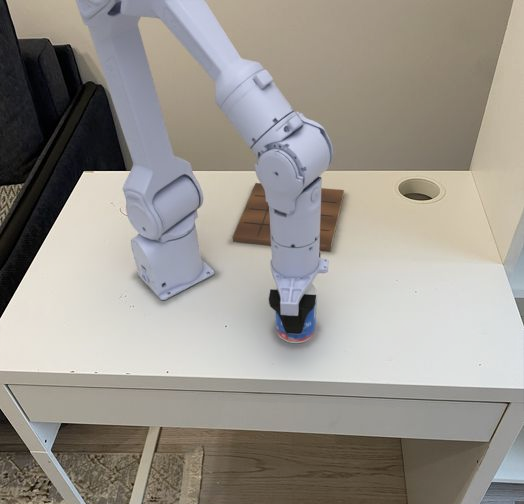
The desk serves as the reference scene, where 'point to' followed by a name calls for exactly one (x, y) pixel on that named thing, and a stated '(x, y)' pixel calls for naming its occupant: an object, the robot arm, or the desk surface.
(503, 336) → the desk surface
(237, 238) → the board
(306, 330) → the pill bottle
